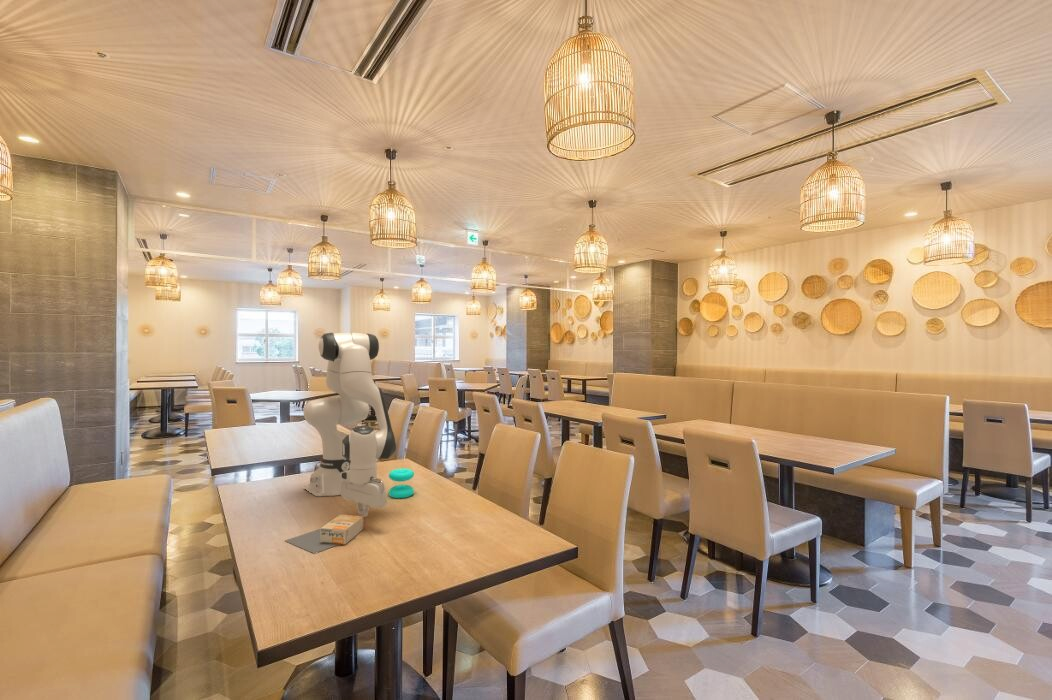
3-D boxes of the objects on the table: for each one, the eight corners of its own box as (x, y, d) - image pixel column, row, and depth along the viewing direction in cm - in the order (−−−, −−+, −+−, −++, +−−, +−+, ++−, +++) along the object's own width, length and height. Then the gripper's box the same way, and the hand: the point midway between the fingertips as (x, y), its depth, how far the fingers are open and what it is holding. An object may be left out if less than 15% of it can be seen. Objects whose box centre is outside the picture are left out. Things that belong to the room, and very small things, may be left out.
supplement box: (364, 514, 161) (346, 529, 148) (363, 529, 161) (345, 545, 148) (340, 513, 161) (320, 527, 148) (339, 527, 161) (319, 543, 148)
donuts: (395, 467, 203) (418, 468, 201) (395, 490, 204) (417, 492, 202) (384, 473, 194) (407, 474, 192) (384, 498, 194) (407, 500, 192)
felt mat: (284, 541, 150) (284, 540, 150) (325, 527, 162) (325, 526, 162) (314, 554, 141) (314, 553, 141) (355, 538, 153) (355, 538, 153)
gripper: (391, 477, 161) (390, 519, 161) (352, 468, 173) (352, 507, 173) (375, 482, 156) (375, 524, 156) (337, 472, 167) (336, 512, 168)
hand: (363, 515), depth 164 cm, fingers closed
